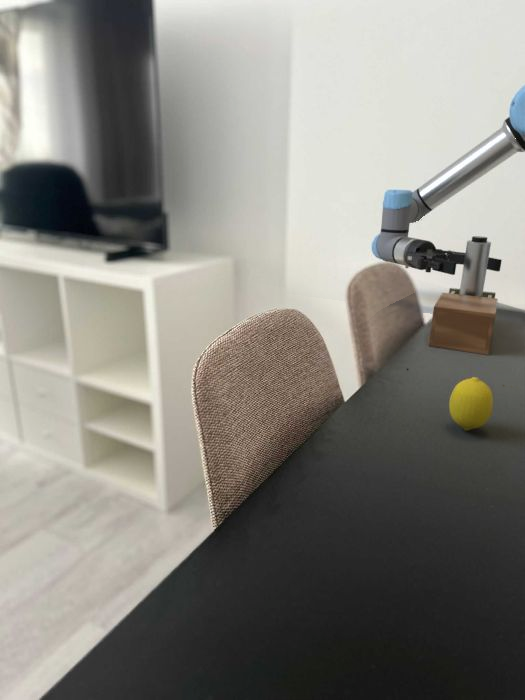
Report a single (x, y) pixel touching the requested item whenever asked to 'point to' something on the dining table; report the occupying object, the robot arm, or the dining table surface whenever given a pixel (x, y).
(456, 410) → the lemon
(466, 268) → the silver capped cylinder
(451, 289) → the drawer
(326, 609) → the dining table surface
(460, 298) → the cabinet
